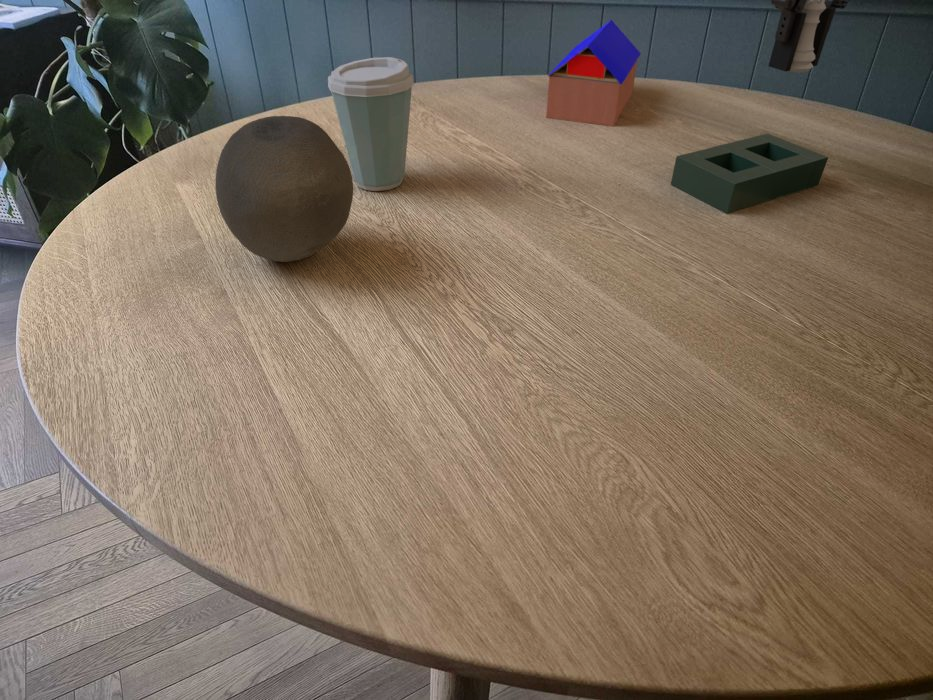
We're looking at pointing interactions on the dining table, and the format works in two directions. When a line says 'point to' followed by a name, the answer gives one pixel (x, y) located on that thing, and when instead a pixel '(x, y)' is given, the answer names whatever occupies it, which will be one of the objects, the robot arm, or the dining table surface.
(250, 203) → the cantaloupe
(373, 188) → the disposable coffee cup
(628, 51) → the house
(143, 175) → the dining table surface
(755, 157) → the peg block
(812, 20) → the rook chess piece
